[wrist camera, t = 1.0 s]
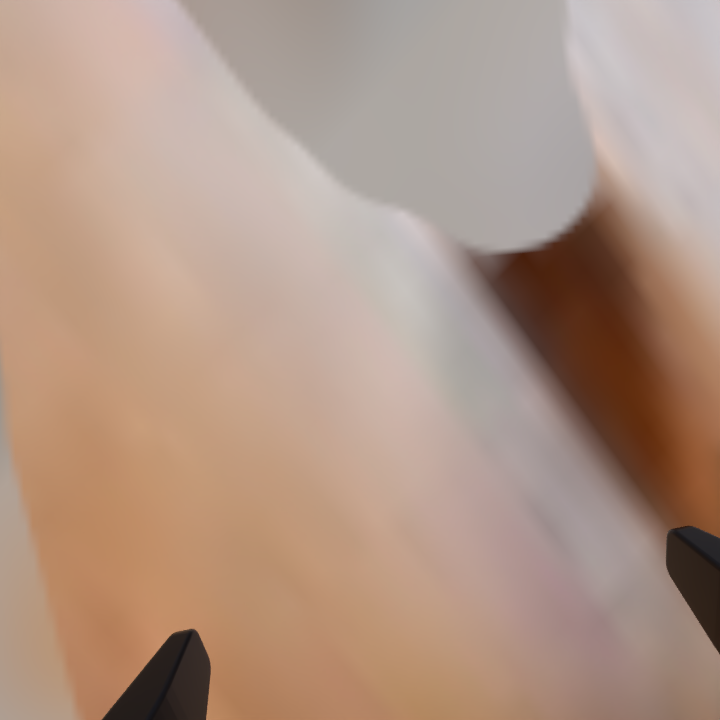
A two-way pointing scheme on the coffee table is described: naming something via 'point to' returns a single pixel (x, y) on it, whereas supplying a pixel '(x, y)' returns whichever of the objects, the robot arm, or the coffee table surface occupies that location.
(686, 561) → the robot arm
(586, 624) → the coffee table surface
